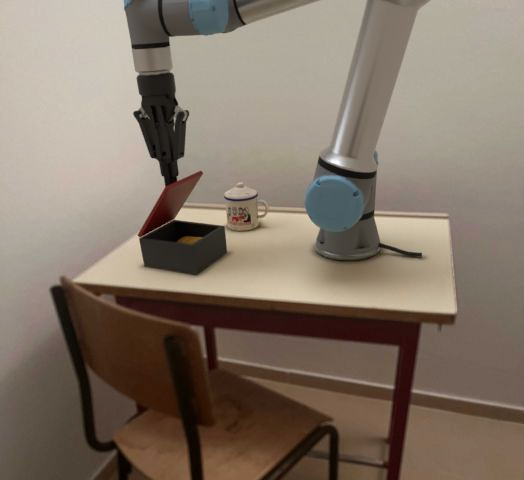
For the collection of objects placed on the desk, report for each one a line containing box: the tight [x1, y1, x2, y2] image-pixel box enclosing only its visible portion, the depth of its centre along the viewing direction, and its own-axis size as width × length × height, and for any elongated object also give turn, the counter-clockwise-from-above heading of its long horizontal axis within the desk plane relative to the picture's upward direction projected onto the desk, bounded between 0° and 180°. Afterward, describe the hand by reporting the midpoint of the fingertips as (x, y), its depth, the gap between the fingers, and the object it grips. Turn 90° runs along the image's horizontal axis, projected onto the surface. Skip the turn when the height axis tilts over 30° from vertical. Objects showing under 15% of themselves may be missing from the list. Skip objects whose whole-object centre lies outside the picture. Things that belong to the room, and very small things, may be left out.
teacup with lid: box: [223, 181, 270, 232], centre depth 139 cm, size 12×9×12 cm
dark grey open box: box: [138, 219, 228, 276], centre depth 122 cm, size 15×14×7 cm
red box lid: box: [137, 170, 204, 238], centre depth 118 cm, size 16×14×1 cm
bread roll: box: [177, 236, 203, 244], centre depth 122 cm, size 8×9×4 cm
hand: (172, 191), depth 116 cm, fingers closed
